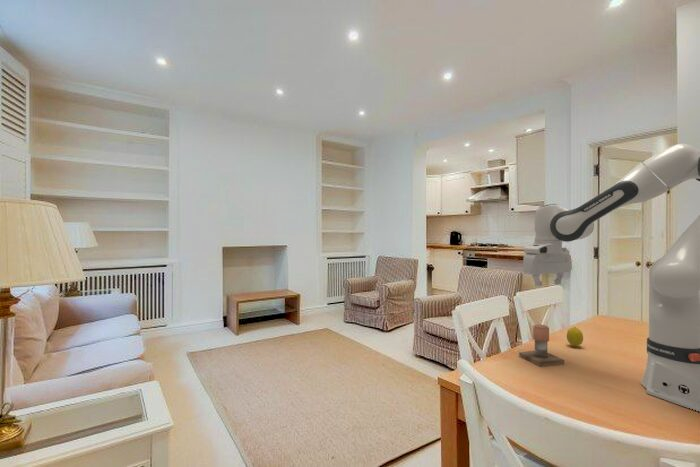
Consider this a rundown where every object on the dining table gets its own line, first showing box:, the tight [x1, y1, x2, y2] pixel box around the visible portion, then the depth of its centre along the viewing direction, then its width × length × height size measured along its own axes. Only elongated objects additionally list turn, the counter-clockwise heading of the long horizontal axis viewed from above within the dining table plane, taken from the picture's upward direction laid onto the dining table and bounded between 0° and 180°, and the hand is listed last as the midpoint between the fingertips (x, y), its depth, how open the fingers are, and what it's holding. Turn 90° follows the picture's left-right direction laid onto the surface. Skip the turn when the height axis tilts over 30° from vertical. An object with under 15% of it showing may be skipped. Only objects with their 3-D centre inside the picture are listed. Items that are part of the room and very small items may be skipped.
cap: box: [532, 324, 550, 343], centre depth 122 cm, size 5×5×5 cm
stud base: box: [518, 340, 565, 368], centre depth 122 cm, size 10×10×8 cm
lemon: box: [566, 326, 584, 348], centre depth 136 cm, size 6×6×8 cm
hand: (548, 285), depth 126 cm, fingers open, 8 cm apart
